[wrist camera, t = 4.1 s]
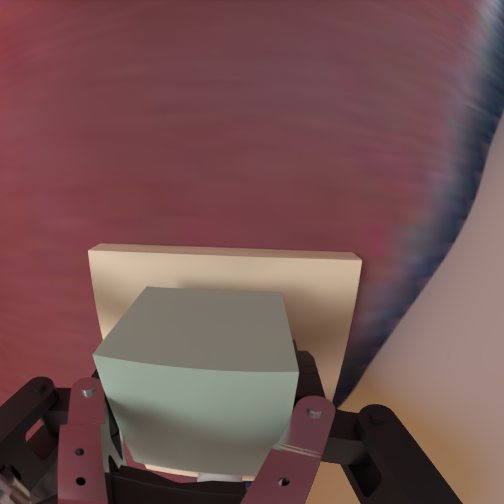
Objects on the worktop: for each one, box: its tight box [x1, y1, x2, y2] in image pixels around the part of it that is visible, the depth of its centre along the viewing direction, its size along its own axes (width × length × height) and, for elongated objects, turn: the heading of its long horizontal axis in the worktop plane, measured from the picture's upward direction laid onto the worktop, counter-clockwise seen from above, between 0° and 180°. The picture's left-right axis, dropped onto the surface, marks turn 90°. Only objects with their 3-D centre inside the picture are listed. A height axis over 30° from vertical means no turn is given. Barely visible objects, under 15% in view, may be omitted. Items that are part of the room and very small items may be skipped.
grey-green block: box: [93, 286, 299, 476], centre depth 10 cm, size 6×6×5 cm
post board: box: [88, 243, 362, 482], centre depth 15 cm, size 20×14×6 cm
